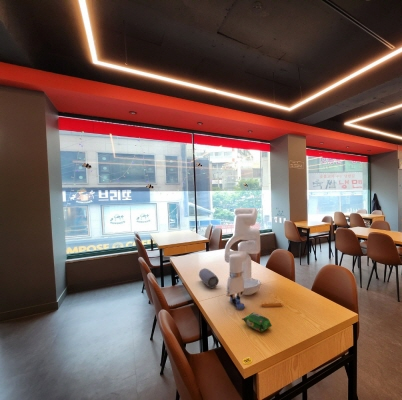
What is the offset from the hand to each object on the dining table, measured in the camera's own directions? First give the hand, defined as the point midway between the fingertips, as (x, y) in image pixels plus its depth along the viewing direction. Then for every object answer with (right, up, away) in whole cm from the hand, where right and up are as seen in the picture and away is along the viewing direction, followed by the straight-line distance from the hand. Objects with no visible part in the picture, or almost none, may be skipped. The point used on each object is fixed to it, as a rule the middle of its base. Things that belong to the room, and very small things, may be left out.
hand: (235, 303), depth 140 cm
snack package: (+15, -1, -24) cm, 29 cm away
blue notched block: (+1, 0, -1) cm, 1 cm away
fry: (+22, 0, -2) cm, 22 cm away
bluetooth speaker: (-28, -1, +33) cm, 43 cm away
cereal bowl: (+5, -1, +17) cm, 18 cm away
